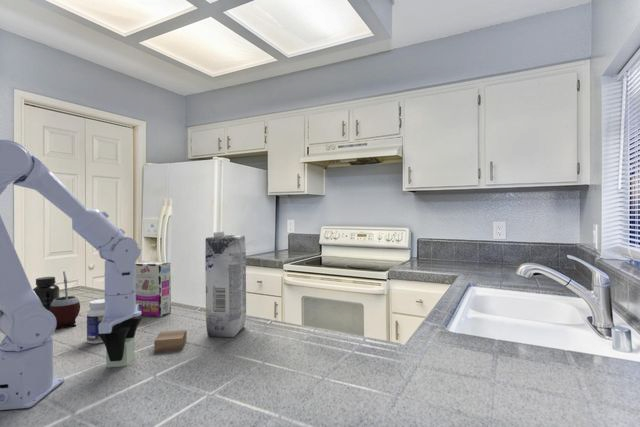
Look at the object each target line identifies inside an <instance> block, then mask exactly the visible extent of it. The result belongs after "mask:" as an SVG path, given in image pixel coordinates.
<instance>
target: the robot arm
mask: <svg viewBox="0 0 640 427" xmlns="http://www.w3.org/2000/svg"><path fill="white" fill-rule="evenodd" d="M10 184H12V185H13V186H18V187H23V188H26V189H31V190H34V191H36V192H37V193H39V194H40V195H42V196H43V197H44V199H46V200H48V201H49V202H50V203H51V204H52V205H54V206H55V207H56V208H57V209H58V210H60V211H61V212H63V213H64V214H65V215H66V216H68V218H70V219H71V222H72V223H71V226H72V228H71V229H72V230H73V231H75V233H76V234H77V235H79V236H80V237H81V238H82V239H84V240H85V241H86V242H87V243H88V244H89V245H91V246H92V247H93V248H94V249H95V250H97V251H98V255H99V257H100V258H101V259H102V260H104V299H105V314H104V316H103V319H102V322H101V323H99V329H98V330H97V333H98V335H99V337H100V338H101V339H102V341H103V344H104V347H105V351H106V350H107V353H108V356H109V359H110V361H121V360H122V357H123V353H124V344H125V339H126V338H135V335H136V332H137V329H138V327H139V324H140V322H141V321H142V316H141V314H142V313H141V311H139V304H136V291H135V290H136V287H135V263H137V260H138V259H139V257H140V255H141V252H142V249H141V248H140V247H139V244H138V242H137V241H136V240H134V238H131V237H128V236H125V234H126V231H125V230H124V229H123V228H119V227H117V226H116V225H115V224H114V223H113V222H112V221H111V220H110V219H109V216H110V215H109V214H108V213H107V212H106V211H100V209H97V208H87V207H86V206H85V205H84V203H83V202H82V201H81V200H80V199H78V197H76V195H75V194H74V193H73V192H72V191H71V190H70V189H69V188H68V187H67V186H66V185H65V184H64V183H63V182H62V181H61V180H60V179H59V178H58V177H57V176H56V175H55V174H54V173H53V172H52V171H51V170H50V168H48V167H47V165H45V164H44V163H43V161H42V160H41V159H40V158H38V157H37V156H35V155H34V154H32V155H31V153H30V152H29V151H28V149H27V148H26V147H25V146H24V145H22V144H21V143H18V142H17V141H14V140H10V139H0V196H1V195H2V194H3V193H4V192H5V190H6V189H7V188H8V185H10ZM3 220H4V219H3V218H2V216H1V215H0V332H1V333H2V334H4V335H5V336H4V337H3V339H2V340H1V342H0V411H7V410H18V409H28V408H29V409H30V408H31V407H33V406H34V405H36V404H37V403H38V402H39V401H41V400H42V399H43V398H45V397H46V396H47V395H48V394H49V393H50V392H53V390H55V389H56V388H57V387H58V386H60V385H61V384H62V383H64V382H65V378H64V377H60V378H59V377H58V378H56V377H55V378H54V346H53V345H54V340H53V338H54V336H53V335H54V332H55V331H56V330H55V329H56V323H57V322H56V318H55V316H54V315H53V314H52V313H51V312H50V311H48V310H46V309H45V308H44V307H43V305H42V303H41V301H40V299H39V297H38V296H37V295H36V293H35V292H34V290H33V289H34V288H33V287H32V285H31V283H30V280H29V278H28V277H27V274H26V272H25V269H24V266H23V264H22V262H21V260H20V257H19V255H18V252H17V251H16V249H15V246H14V243H13V241H12V239H11V237H10V234H9V232H8V230H7V228H6V224H5V222H4V221H3Z"/></svg>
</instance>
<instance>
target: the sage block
mask: <svg viewBox="0 0 640 427" xmlns="http://www.w3.org/2000/svg"><path fill="white" fill-rule="evenodd" d="M135 346H136V345H135V337H134V338H126V339H125V344H124V353H123V357H122V360H121V361H110V359H109V356H108V353H107V350H106V349H105V351H106V353H105V356H106V359H105V360H106V364H105V365H106V368H116V367H117V368H118V367H128V366H129V365H130V364H131V363H132V361H133V360H135V358H136V357H135V354H136V352H135V349H136V348H135Z"/></svg>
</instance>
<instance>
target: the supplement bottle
mask: <svg viewBox="0 0 640 427" xmlns="http://www.w3.org/2000/svg"><path fill="white" fill-rule="evenodd" d="M56 282H57V281H56V277H55V276H43V277H42V276H41V277H37V278H35V286H36V287H34V288H32V289H33V290H34V292H35V293H36V295H37V296H38V297H39V299H40V301H41V303H42V305H43V307H44V308H45V309H46V310H48V311H50V306H51V303H52V301H53V300H54V299H56V298H60V297H61V296H60V287H59V286H58V284H56Z"/></svg>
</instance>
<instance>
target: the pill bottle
mask: <svg viewBox="0 0 640 427" xmlns="http://www.w3.org/2000/svg"><path fill="white" fill-rule="evenodd" d="M88 307H89V309H90V310H89V311H88V312H87V314H86V341H87V343H88V344H92V345H93V344H95V345H97V344H104V342H103V341H102V339H101V338H100V337H99V335H98V333H97V330H98V329H99V323H101V322H102V319H103V316H104V314H105V298H103V299H102V298H101V299H100V298H99V299H95V300H91V301H89V303H88Z"/></svg>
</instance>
